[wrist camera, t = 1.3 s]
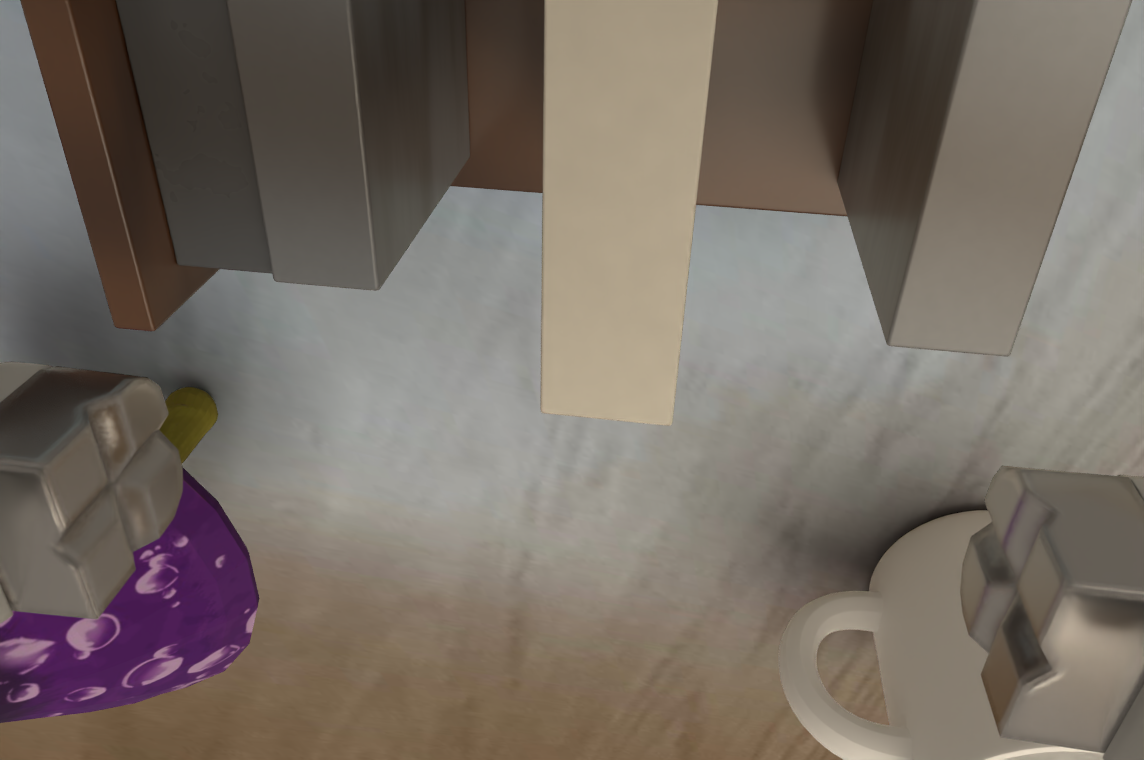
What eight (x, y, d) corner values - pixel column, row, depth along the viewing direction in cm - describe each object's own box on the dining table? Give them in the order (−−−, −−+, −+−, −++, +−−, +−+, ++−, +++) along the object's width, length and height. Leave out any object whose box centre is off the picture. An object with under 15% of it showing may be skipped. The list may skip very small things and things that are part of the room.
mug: (755, 626, 38) (766, 866, 30) (790, 475, 34) (814, 707, 25) (1048, 666, 37) (1146, 926, 29) (1124, 516, 33) (1269, 772, 24)
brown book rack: (248, -198, 24) (-39, -193, 15) (1025, -170, 22) (1240, -145, 13) (300, 164, 30) (113, 328, 20) (926, 211, 28) (1029, 416, 19)
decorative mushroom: (302, 242, 31) (26, 543, 19) (387, 517, 38) (225, 874, 25) (-10, 264, 33) (-441, 544, 21) (122, 520, 40) (-147, 848, 28)
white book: (626, -137, 23) (545, -75, 12) (721, -134, 23) (725, -66, 12) (610, 168, 27) (540, 414, 16) (690, 173, 27) (671, 427, 16)
